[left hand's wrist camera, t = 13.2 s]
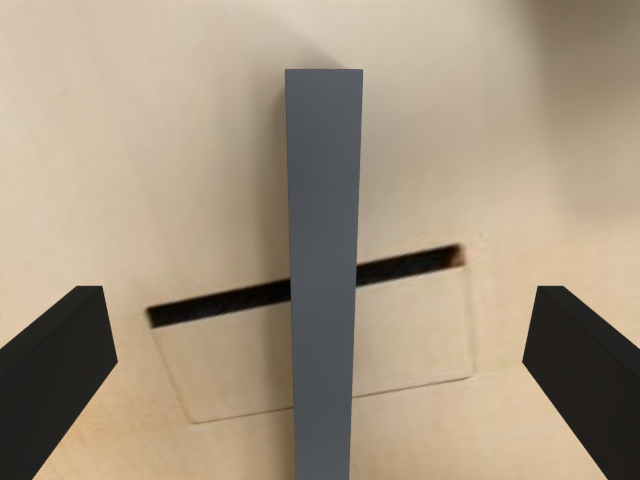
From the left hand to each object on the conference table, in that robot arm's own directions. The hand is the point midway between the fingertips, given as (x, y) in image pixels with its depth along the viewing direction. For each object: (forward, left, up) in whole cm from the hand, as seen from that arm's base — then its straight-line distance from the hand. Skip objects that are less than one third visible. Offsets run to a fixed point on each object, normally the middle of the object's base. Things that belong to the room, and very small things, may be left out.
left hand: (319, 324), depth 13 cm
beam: (+21, +10, -26) cm, 34 cm away
